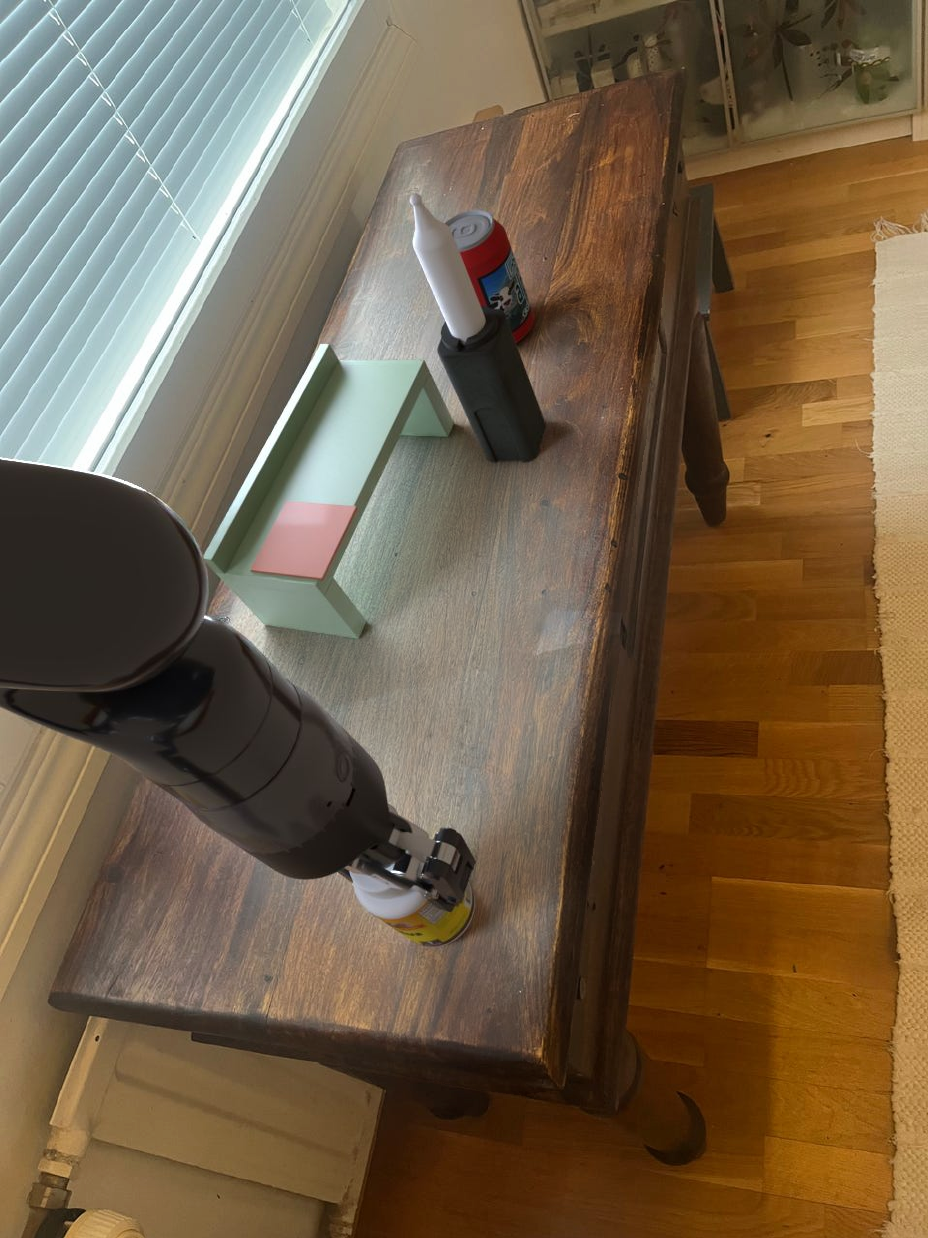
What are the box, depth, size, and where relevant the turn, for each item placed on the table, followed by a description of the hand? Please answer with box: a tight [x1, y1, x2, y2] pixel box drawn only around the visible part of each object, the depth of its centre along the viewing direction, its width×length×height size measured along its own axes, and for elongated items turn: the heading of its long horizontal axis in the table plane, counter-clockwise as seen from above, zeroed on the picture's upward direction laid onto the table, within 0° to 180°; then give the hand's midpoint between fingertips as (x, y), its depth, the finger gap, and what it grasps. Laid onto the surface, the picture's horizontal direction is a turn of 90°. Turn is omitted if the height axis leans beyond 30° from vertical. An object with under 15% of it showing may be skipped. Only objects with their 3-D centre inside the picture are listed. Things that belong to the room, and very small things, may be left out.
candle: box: [409, 192, 547, 464], centre depth 74 cm, size 5×5×25 cm
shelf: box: [203, 343, 455, 639], centre depth 81 cm, size 24×10×10 cm, turn 160°
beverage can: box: [443, 209, 535, 344], centre depth 88 cm, size 7×7×12 cm
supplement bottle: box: [349, 862, 476, 948], centre depth 58 cm, size 6×6×10 cm
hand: (409, 882), depth 58 cm, fingers closed on supplement bottle, 5 cm apart
